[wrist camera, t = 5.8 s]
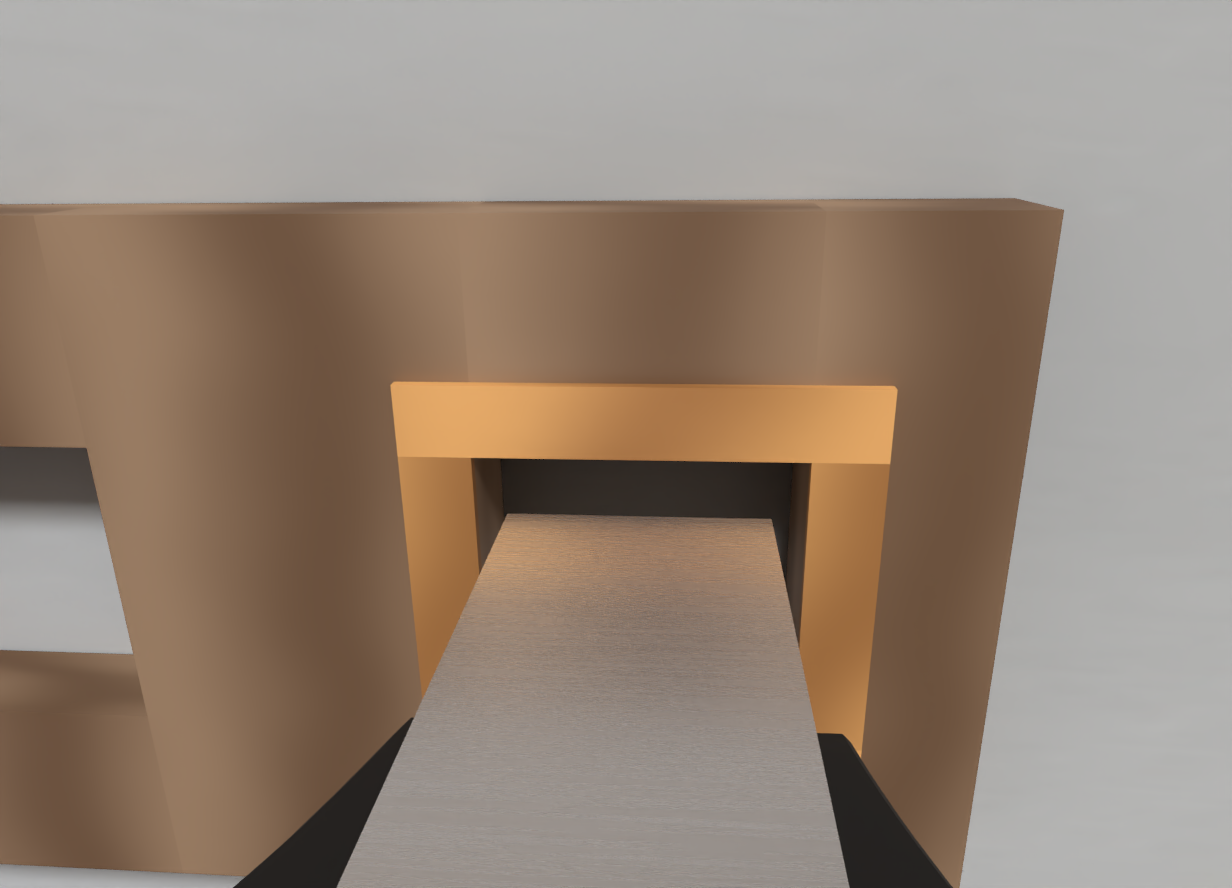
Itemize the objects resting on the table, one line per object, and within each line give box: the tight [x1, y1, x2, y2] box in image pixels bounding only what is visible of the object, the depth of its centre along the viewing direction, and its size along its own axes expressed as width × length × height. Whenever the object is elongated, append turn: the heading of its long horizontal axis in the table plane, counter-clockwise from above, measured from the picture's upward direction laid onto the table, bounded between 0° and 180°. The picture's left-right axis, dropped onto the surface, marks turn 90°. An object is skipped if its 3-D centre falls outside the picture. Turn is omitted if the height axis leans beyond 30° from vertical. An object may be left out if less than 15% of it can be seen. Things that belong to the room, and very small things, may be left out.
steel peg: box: [337, 514, 849, 888], centre depth 10 cm, size 4×4×8 cm
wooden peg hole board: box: [0, 198, 1064, 888], centre depth 17 cm, size 24×13×2 cm, turn 90°
